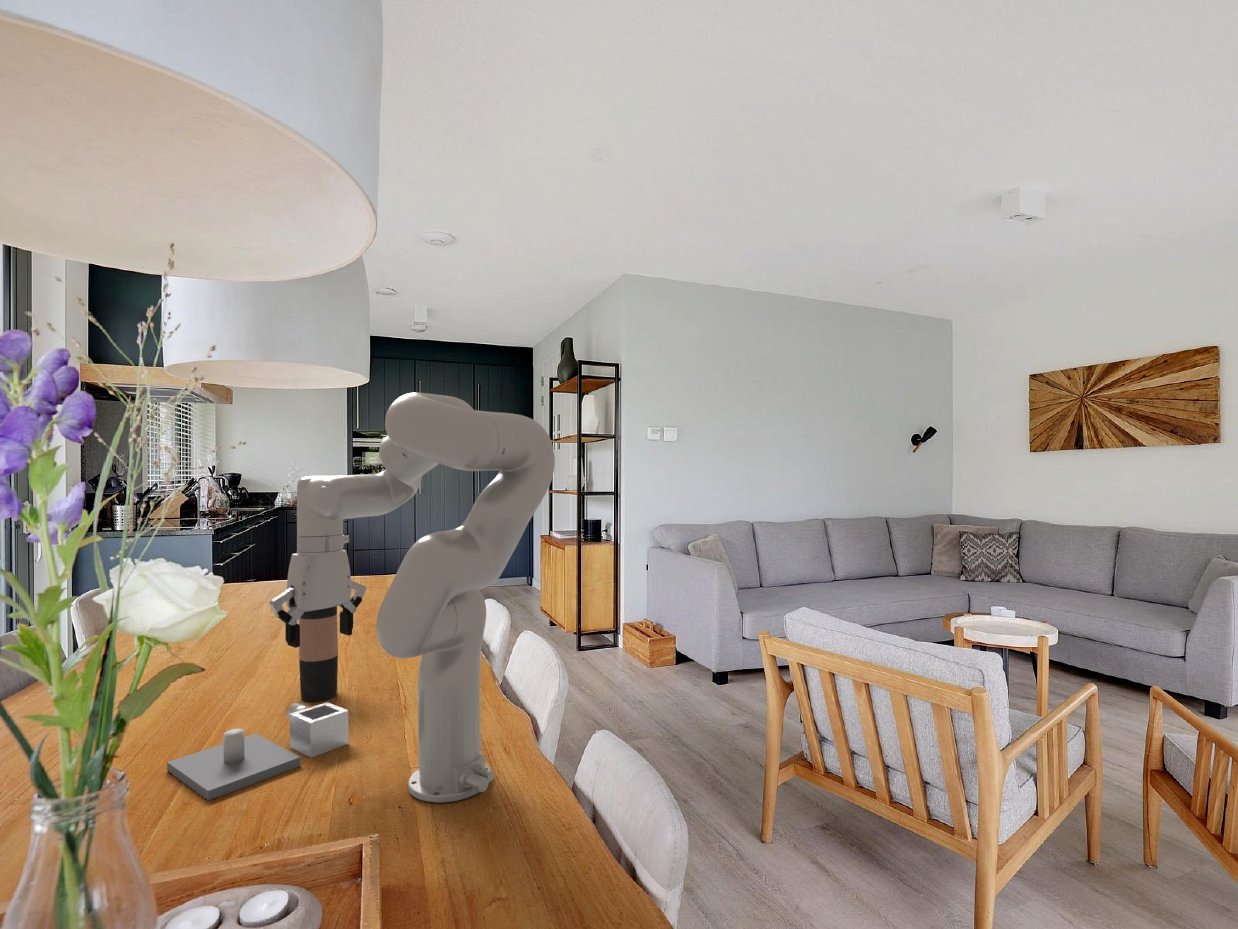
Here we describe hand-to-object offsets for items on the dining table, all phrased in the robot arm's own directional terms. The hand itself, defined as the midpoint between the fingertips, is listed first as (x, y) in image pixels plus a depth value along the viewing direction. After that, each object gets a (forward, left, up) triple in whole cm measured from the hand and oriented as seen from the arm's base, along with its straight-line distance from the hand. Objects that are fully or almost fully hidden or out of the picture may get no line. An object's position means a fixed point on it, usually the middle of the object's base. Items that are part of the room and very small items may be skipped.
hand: (320, 640), depth 118 cm
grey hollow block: (+2, 0, -19) cm, 19 cm away
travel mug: (+24, -13, -19) cm, 33 cm away
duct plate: (+3, +13, -19) cm, 23 cm away
